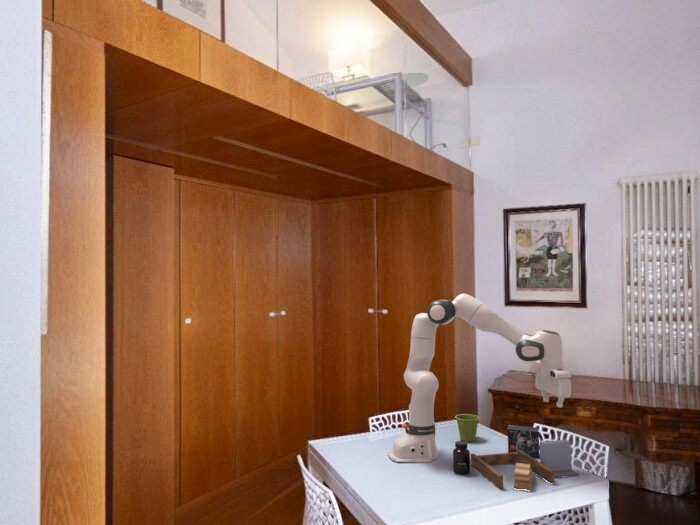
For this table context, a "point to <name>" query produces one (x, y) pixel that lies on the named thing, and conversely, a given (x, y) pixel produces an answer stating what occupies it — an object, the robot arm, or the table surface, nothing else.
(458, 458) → the supplement bottle
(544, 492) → the table surface
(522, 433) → the small box
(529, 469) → the offcut stack
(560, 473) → the charcoal mat
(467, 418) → the plant pot
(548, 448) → the gray block
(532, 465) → the walnut rack
